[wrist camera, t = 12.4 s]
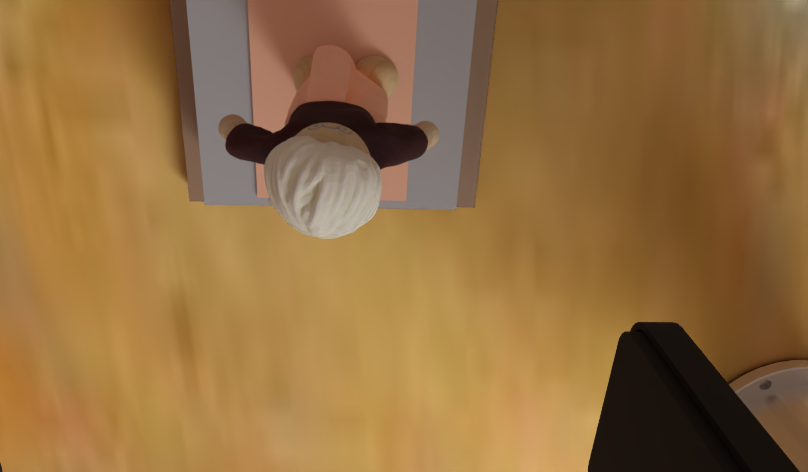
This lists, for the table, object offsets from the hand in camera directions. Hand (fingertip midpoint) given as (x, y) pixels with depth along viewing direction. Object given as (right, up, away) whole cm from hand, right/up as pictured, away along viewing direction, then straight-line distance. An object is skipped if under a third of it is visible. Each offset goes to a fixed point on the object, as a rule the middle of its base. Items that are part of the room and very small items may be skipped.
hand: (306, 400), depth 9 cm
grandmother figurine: (-2, +9, +18) cm, 21 cm away
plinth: (-2, +12, +24) cm, 27 cm away
